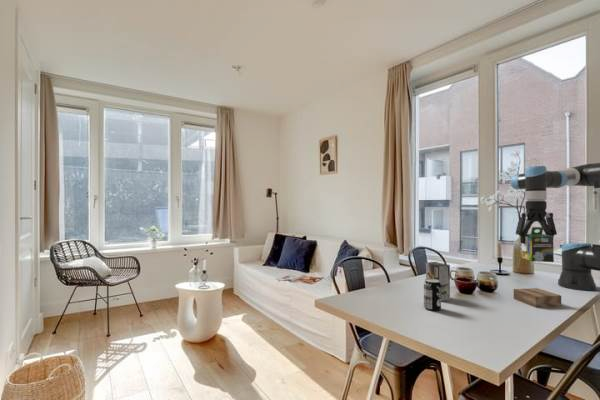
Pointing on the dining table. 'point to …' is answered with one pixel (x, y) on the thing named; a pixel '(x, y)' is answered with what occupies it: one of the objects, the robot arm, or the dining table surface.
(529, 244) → the chalk box
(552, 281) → the dining table surface
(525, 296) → the walnut block
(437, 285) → the beverage can
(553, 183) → the robot arm
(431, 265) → the coffee box
